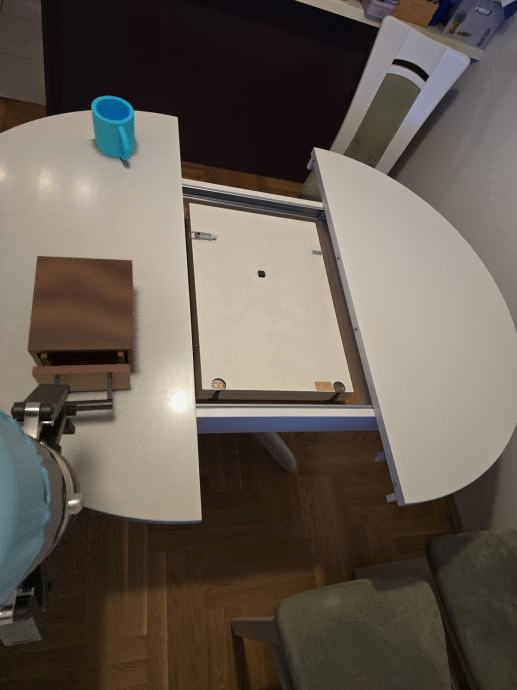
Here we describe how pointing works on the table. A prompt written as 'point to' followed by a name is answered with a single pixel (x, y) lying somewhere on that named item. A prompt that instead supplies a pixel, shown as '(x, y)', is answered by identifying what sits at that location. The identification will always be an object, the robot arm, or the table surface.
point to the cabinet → (82, 307)
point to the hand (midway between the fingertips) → (54, 498)
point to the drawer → (86, 374)
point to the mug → (113, 126)
